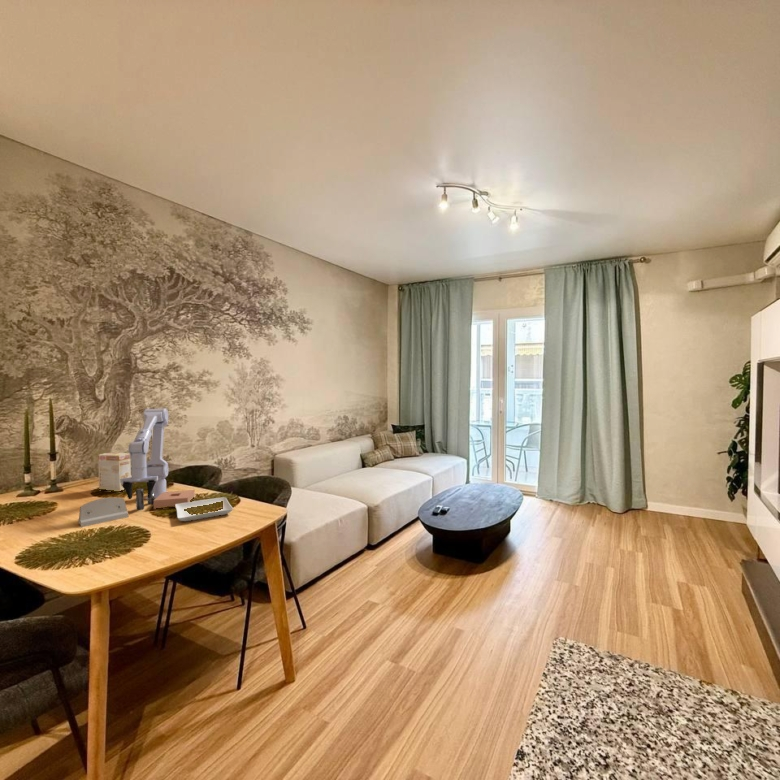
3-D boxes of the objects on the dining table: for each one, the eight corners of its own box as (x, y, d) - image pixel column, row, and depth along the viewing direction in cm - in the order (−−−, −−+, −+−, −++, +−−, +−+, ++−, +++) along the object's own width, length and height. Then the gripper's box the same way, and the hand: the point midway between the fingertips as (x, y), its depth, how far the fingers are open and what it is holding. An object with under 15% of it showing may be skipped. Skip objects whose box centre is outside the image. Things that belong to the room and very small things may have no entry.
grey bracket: (80, 527, 156) (78, 502, 158) (78, 528, 159) (76, 503, 162) (129, 516, 168) (127, 493, 170) (127, 518, 171) (124, 495, 173)
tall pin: (137, 508, 179) (137, 488, 179) (144, 507, 180) (144, 488, 180) (135, 510, 176) (135, 490, 176) (142, 509, 177) (142, 489, 177)
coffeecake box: (131, 489, 212) (130, 453, 212) (119, 492, 206) (118, 455, 205) (111, 487, 217) (110, 451, 217) (98, 490, 210) (97, 454, 210)
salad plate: (234, 515, 168) (233, 508, 168) (177, 526, 157) (177, 517, 157) (225, 503, 186) (225, 496, 186) (174, 511, 175) (174, 503, 175)
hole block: (163, 500, 191) (162, 492, 191) (194, 497, 195) (194, 489, 195) (153, 509, 178) (153, 500, 177) (187, 506, 181) (187, 497, 181)
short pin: (148, 502, 187) (148, 493, 187) (155, 502, 188) (155, 493, 188) (146, 504, 185) (146, 495, 184) (153, 504, 185) (153, 494, 185)
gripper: (117, 470, 172) (117, 501, 172) (154, 468, 176) (155, 498, 176) (123, 467, 179) (124, 497, 179) (159, 465, 182) (159, 494, 183)
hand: (139, 497), depth 178 cm, fingers open, 7 cm apart
